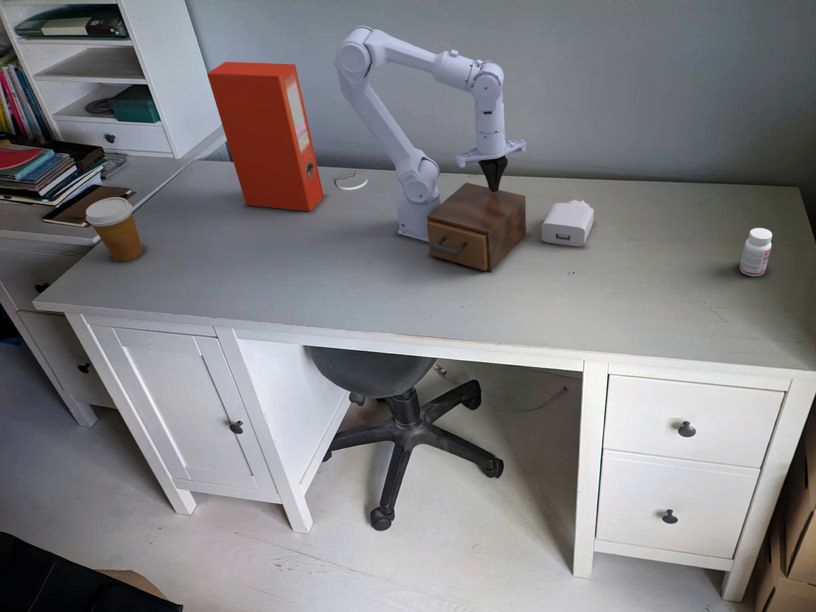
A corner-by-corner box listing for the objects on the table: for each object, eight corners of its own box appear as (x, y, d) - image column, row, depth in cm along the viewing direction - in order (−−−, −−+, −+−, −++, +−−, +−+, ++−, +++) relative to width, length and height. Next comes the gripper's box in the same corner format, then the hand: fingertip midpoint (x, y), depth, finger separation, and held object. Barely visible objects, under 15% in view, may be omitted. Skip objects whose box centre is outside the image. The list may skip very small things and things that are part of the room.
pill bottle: (765, 278, 136) (774, 241, 131) (739, 275, 137) (747, 238, 132) (764, 264, 140) (774, 227, 134) (739, 262, 141) (747, 225, 135)
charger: (599, 212, 159) (584, 247, 149) (559, 207, 162) (541, 241, 151) (600, 193, 156) (584, 228, 145) (559, 188, 159) (541, 222, 148)
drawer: (474, 282, 140) (471, 249, 135) (418, 266, 146) (414, 233, 141) (518, 236, 152) (517, 204, 147) (465, 222, 158) (463, 191, 153)
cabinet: (490, 272, 144) (488, 231, 138) (431, 255, 150) (426, 215, 144) (526, 235, 154) (525, 195, 147) (468, 220, 160) (466, 182, 154)
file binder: (262, 190, 178) (225, 60, 157) (324, 195, 174) (294, 63, 153) (246, 206, 172) (206, 74, 151) (309, 212, 168) (277, 77, 147)
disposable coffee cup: (158, 246, 161) (139, 200, 153) (127, 269, 154) (105, 221, 146) (128, 239, 164) (107, 193, 156) (96, 261, 158) (73, 214, 150)
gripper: (514, 113, 144) (516, 173, 153) (449, 128, 141) (454, 190, 150) (529, 125, 139) (530, 187, 148) (462, 142, 136) (467, 204, 145)
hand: (493, 189), depth 149 cm, fingers closed
